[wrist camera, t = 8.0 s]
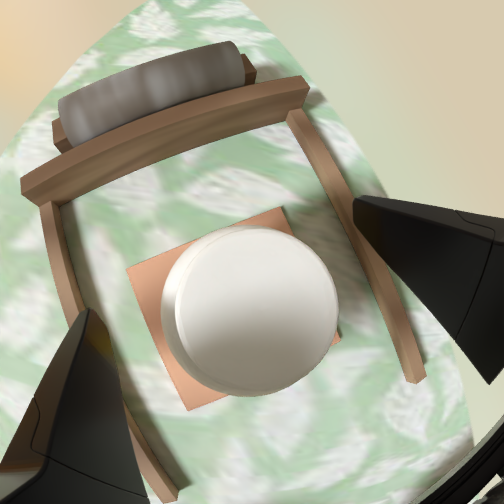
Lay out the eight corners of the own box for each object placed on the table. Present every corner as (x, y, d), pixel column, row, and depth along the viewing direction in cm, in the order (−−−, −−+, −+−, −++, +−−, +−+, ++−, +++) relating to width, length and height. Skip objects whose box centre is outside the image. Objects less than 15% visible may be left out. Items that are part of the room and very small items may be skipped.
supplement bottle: (243, 244, 18) (279, 156, 8) (301, 319, 17) (405, 323, 7) (165, 301, 16) (97, 282, 6) (225, 379, 16) (240, 463, 6)
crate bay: (416, 373, 17) (468, 384, 12) (165, 494, 14) (153, 542, 9) (268, 73, 21) (280, 23, 16) (40, 156, 17) (6, 118, 12)
